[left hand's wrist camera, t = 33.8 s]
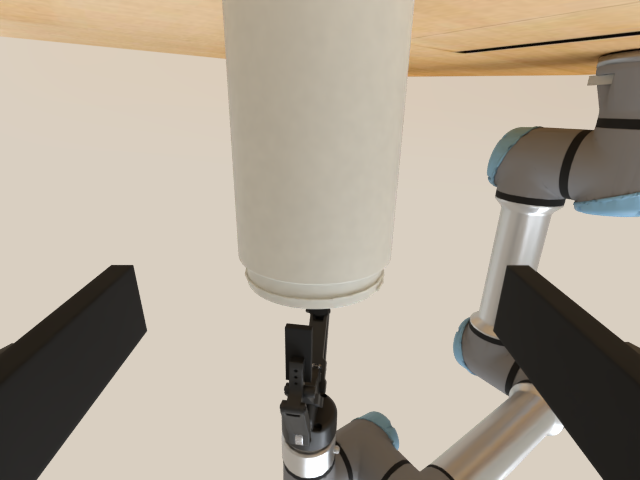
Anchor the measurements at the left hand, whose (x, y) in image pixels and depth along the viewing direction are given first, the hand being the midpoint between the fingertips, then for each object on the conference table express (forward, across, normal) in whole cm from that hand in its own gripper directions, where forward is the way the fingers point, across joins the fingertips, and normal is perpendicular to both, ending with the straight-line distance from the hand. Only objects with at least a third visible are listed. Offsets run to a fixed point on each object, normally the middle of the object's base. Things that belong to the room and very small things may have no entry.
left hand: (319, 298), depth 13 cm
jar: (+10, 0, -14) cm, 17 cm away
